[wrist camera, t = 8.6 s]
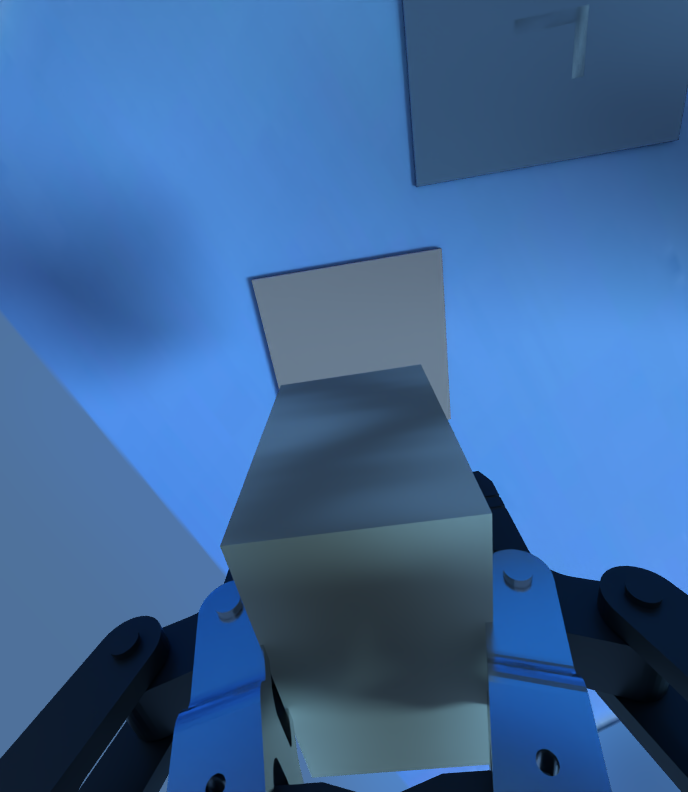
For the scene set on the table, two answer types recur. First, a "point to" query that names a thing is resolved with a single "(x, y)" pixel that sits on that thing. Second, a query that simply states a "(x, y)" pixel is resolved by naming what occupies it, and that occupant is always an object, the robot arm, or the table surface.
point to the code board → (540, 81)
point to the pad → (358, 320)
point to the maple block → (368, 574)
